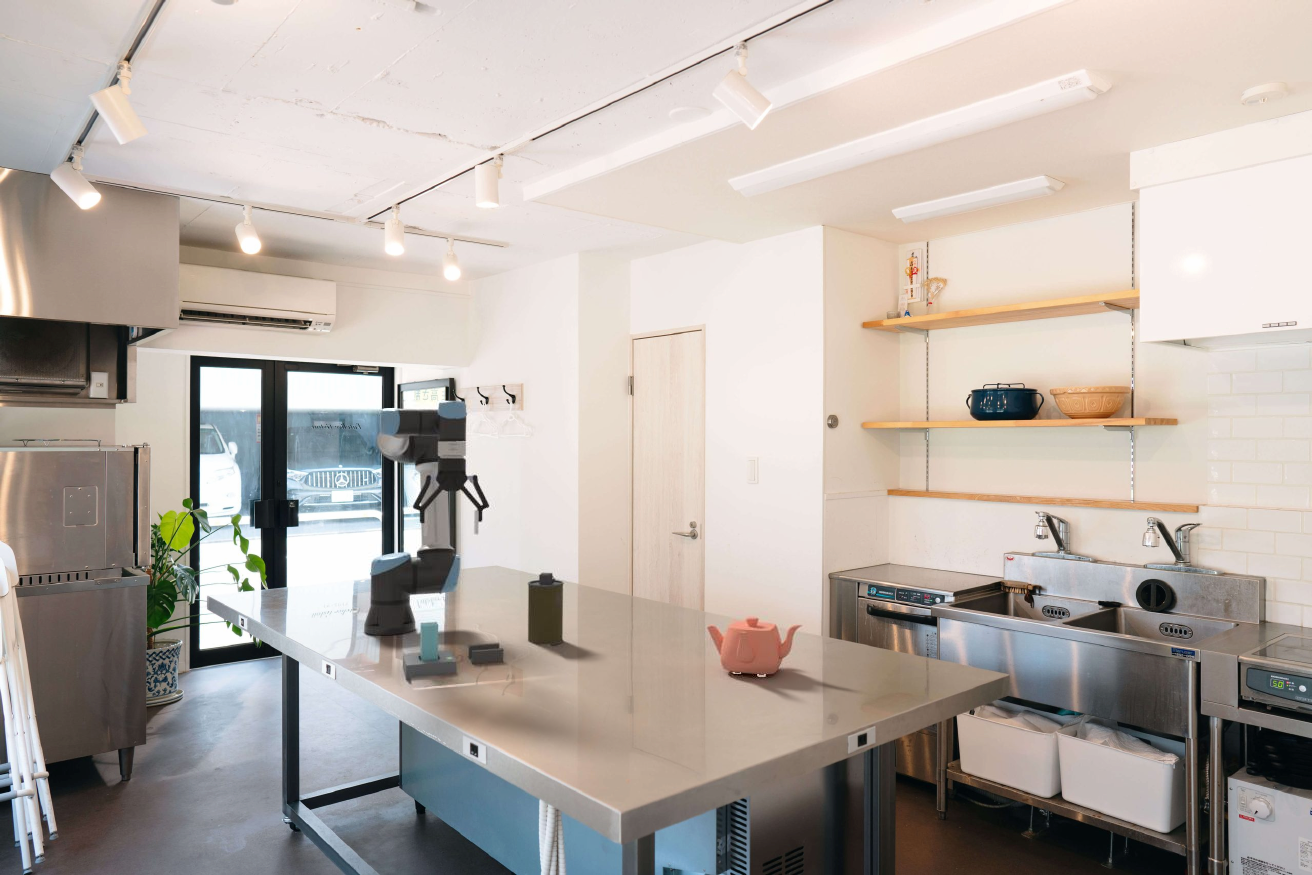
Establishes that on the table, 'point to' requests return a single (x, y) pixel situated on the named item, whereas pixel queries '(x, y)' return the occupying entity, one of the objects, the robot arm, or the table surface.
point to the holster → (485, 653)
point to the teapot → (752, 646)
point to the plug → (429, 641)
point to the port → (428, 665)
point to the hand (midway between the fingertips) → (451, 534)
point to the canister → (545, 610)
